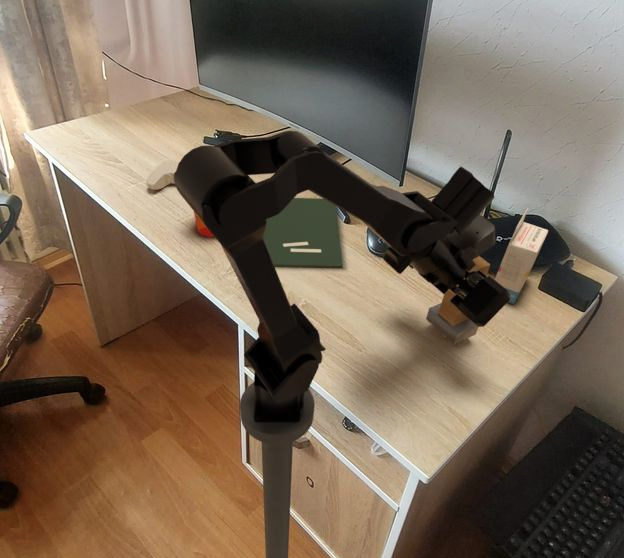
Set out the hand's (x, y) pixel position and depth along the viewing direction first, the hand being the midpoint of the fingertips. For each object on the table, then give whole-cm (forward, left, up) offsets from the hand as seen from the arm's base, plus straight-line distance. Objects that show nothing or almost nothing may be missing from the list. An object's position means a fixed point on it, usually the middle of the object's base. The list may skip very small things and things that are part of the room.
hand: (468, 291), depth 83 cm
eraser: (-1, -1, -7) cm, 7 cm away
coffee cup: (-44, +29, -9) cm, 54 cm away
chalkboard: (-26, +29, -9) cm, 40 cm away
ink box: (+13, +12, -9) cm, 20 cm away
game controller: (-52, +45, -9) cm, 69 cm away
